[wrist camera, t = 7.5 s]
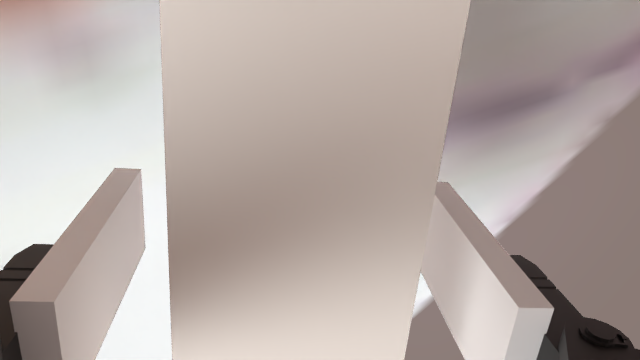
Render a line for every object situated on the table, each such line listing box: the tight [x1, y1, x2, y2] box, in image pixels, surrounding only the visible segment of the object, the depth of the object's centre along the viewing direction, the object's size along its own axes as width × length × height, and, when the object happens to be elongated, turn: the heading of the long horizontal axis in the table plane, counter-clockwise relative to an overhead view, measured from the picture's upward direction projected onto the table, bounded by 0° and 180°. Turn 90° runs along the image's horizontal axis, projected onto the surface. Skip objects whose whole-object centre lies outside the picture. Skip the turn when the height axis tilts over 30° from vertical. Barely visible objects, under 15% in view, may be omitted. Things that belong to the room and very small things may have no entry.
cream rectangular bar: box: [159, 0, 471, 360], centre depth 10 cm, size 16×5×3 cm, turn 175°
